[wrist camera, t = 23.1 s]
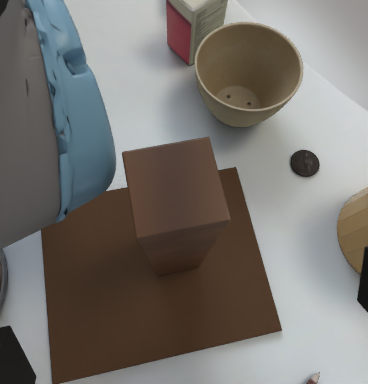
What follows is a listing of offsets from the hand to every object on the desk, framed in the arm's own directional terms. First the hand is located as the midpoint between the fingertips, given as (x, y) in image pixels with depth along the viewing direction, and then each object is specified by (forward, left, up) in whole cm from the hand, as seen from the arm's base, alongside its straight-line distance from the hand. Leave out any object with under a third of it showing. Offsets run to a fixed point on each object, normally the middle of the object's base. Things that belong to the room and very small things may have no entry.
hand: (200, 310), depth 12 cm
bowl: (+10, +20, -19) cm, 29 cm away
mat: (-2, +4, -19) cm, 19 cm away
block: (0, +5, -18) cm, 19 cm away
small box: (+7, +29, -19) cm, 35 cm away
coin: (+15, +11, -19) cm, 27 cm away
